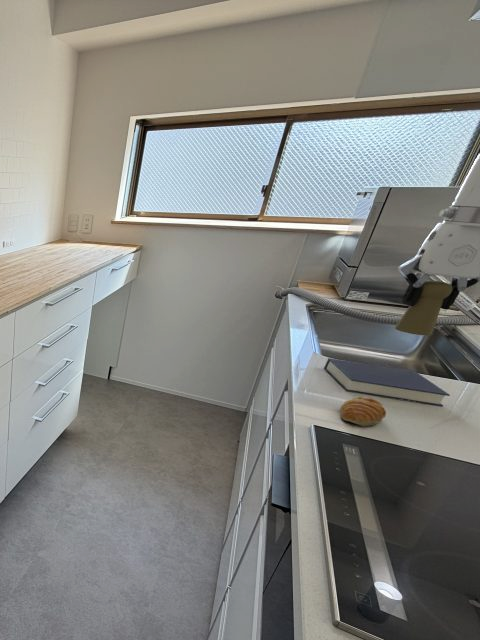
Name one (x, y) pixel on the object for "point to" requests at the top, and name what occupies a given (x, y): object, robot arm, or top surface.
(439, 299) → the cork
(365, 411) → the pastry
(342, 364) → the book
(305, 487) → the top surface
